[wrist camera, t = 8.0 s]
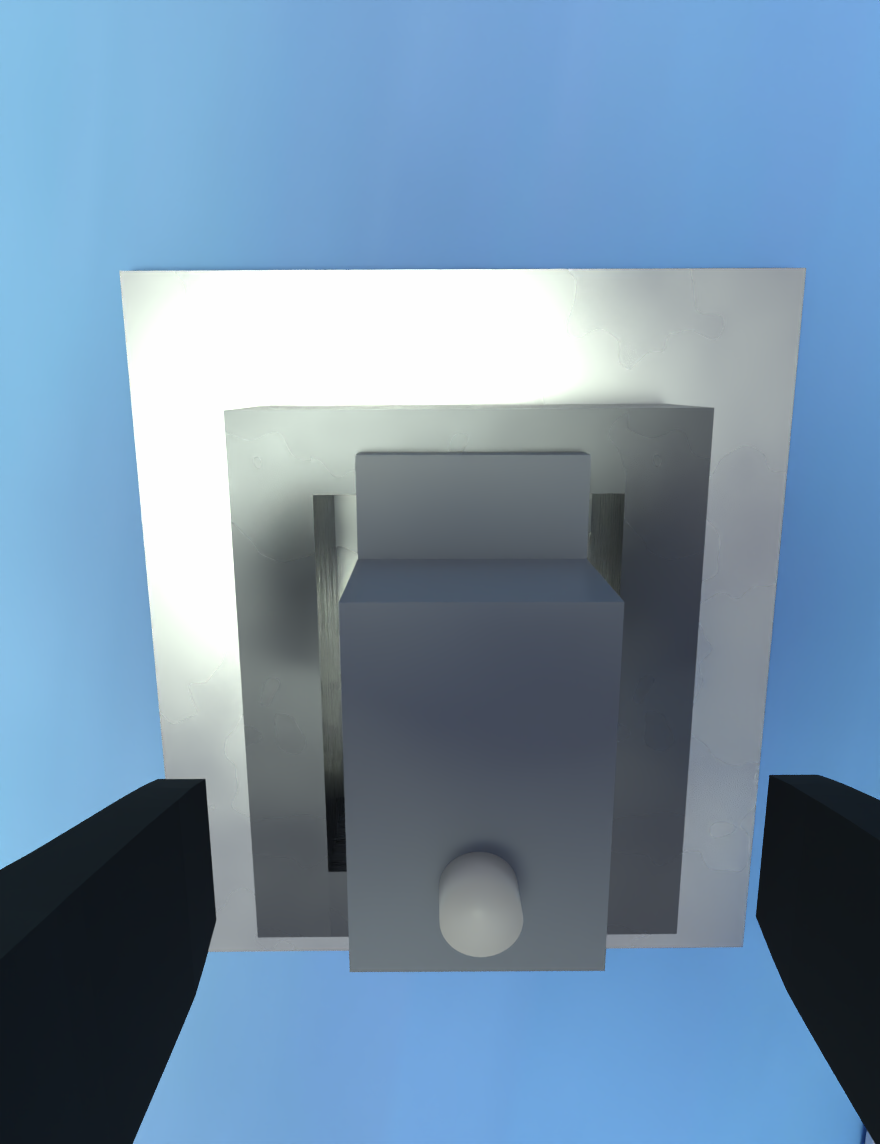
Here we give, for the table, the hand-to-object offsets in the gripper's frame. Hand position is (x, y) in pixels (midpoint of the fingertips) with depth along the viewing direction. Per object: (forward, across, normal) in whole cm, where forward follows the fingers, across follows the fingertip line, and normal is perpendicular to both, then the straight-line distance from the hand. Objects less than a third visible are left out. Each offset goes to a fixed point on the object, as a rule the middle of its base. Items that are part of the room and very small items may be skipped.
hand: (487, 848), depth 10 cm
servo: (+8, 0, 0) cm, 8 cm away
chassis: (+9, 0, 0) cm, 9 cm away
